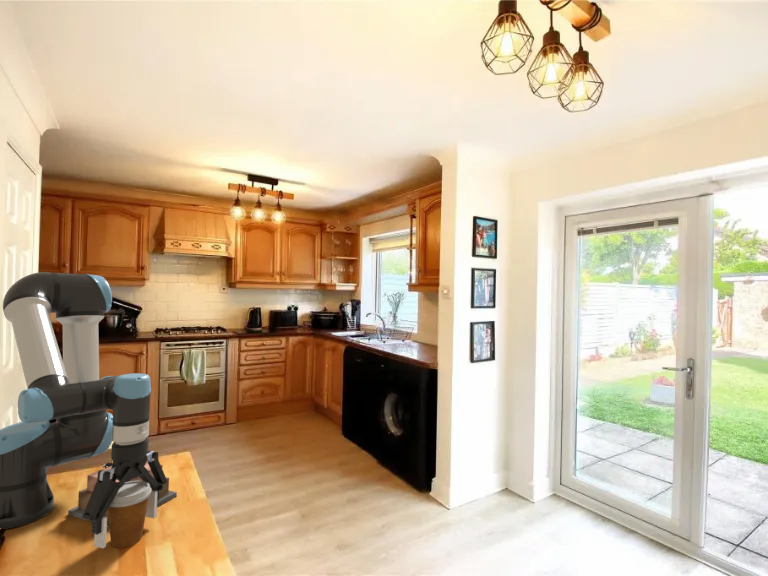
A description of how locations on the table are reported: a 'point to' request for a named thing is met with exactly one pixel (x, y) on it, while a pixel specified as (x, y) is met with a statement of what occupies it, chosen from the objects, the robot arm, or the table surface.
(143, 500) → the disposable coffee cup
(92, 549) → the table surface
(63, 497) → the table surface
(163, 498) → the pink brown stepped block
